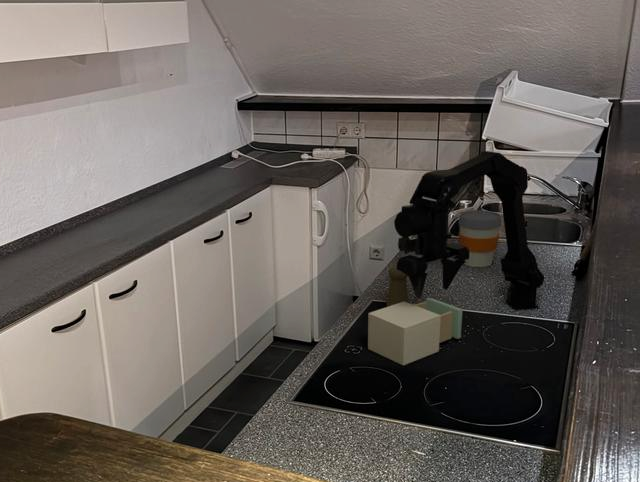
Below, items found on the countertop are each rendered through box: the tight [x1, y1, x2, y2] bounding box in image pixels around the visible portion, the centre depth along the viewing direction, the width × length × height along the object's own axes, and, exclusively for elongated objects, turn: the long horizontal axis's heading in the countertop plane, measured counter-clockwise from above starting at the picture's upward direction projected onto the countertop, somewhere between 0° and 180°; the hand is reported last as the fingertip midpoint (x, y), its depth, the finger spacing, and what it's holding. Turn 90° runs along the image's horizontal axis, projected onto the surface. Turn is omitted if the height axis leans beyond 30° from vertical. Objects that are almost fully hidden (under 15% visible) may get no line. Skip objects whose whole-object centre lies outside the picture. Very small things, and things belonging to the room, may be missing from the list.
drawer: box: [414, 297, 463, 344], centre depth 181 cm, size 12×10×7 cm
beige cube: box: [367, 301, 441, 366], centre depth 176 cm, size 12×12×9 cm
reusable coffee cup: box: [458, 209, 502, 268], centre depth 233 cm, size 13×13×15 cm
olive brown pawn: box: [385, 264, 410, 307], centre depth 202 cm, size 6×6×11 cm
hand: (431, 293), depth 178 cm, fingers open, 9 cm apart
